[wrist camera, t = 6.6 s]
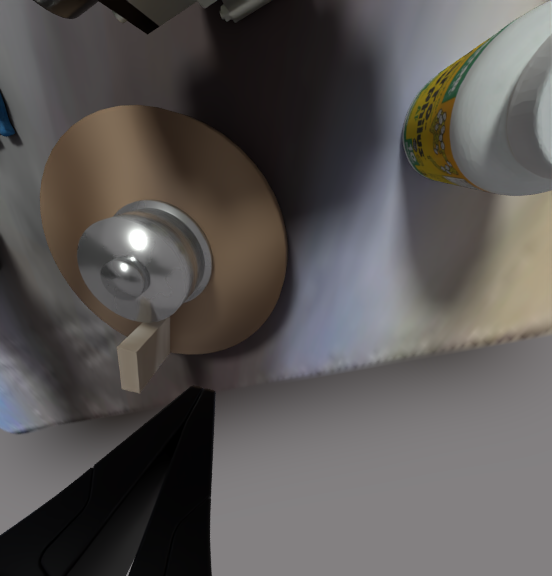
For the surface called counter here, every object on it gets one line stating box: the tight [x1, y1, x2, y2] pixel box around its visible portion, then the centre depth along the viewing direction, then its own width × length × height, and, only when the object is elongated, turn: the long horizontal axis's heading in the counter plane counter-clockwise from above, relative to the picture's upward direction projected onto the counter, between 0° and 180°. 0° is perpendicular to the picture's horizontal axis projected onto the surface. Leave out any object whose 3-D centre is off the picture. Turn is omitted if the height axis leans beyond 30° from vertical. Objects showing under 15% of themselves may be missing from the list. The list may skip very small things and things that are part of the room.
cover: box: [77, 200, 213, 323], centre depth 15 cm, size 7×7×4 cm
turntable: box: [40, 105, 288, 393], centre depth 16 cm, size 16×16×5 cm
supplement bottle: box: [402, 0, 552, 196], centre depth 10 cm, size 5×5×10 cm
